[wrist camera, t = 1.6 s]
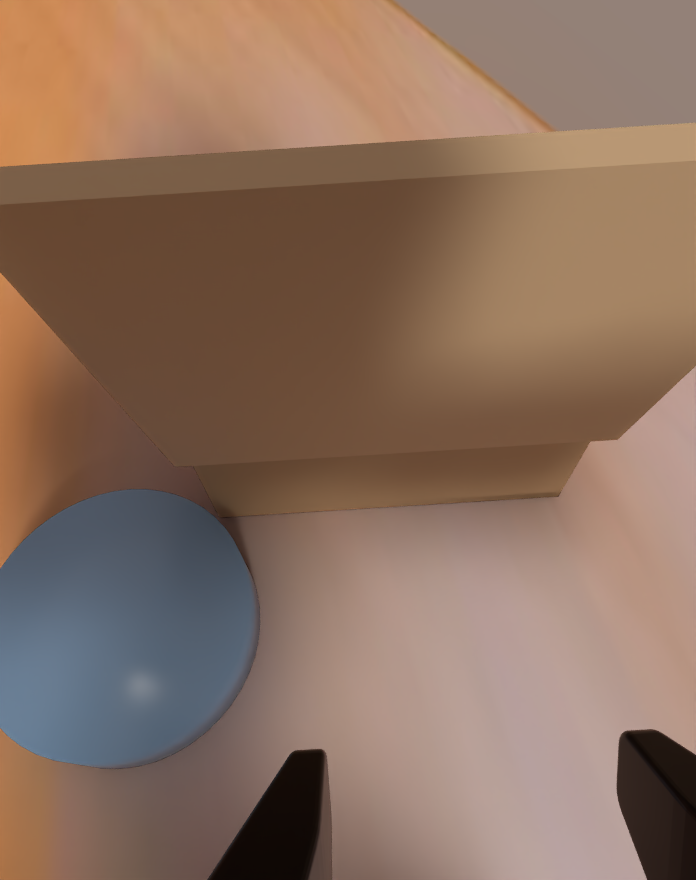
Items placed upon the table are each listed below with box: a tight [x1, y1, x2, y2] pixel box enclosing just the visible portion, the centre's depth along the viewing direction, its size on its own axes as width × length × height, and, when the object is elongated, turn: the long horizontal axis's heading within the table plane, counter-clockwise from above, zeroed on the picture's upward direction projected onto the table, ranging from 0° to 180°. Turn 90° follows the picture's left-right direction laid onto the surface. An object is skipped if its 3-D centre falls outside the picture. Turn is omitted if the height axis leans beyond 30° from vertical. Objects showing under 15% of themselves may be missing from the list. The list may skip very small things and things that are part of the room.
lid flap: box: [0, 123, 696, 467], centre depth 12 cm, size 10×12×1 cm
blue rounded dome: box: [0, 489, 260, 769], centre depth 19 cm, size 8×8×2 cm
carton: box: [193, 441, 590, 517], centre depth 23 cm, size 10×12×5 cm
